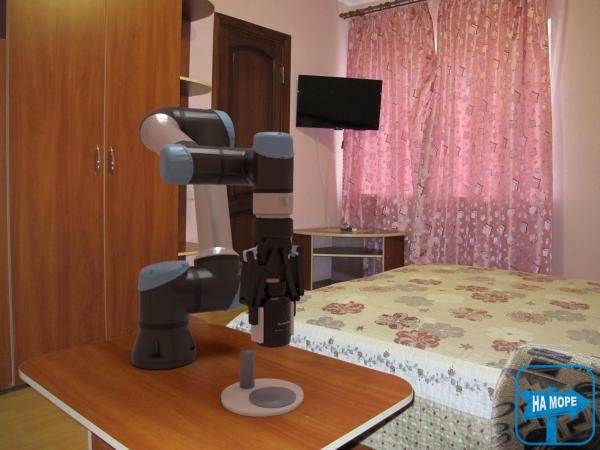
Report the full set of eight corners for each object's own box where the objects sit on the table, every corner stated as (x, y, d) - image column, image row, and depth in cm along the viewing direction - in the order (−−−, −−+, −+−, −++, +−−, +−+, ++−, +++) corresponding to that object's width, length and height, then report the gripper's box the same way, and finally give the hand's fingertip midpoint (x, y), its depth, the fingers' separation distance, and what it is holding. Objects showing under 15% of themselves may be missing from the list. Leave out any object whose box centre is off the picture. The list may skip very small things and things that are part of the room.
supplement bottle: (286, 349, 90) (286, 284, 89) (250, 347, 91) (250, 283, 90) (294, 338, 96) (294, 277, 96) (260, 336, 98) (260, 276, 97)
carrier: (205, 397, 97) (205, 357, 97) (268, 377, 108) (268, 341, 108) (255, 425, 85) (255, 380, 85) (320, 399, 96) (320, 359, 96)
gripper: (242, 218, 83) (242, 353, 84) (324, 215, 96) (323, 332, 98) (217, 216, 88) (217, 343, 90) (298, 214, 102) (297, 324, 103)
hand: (272, 337), depth 94 cm, fingers closed on supplement bottle, 7 cm apart
